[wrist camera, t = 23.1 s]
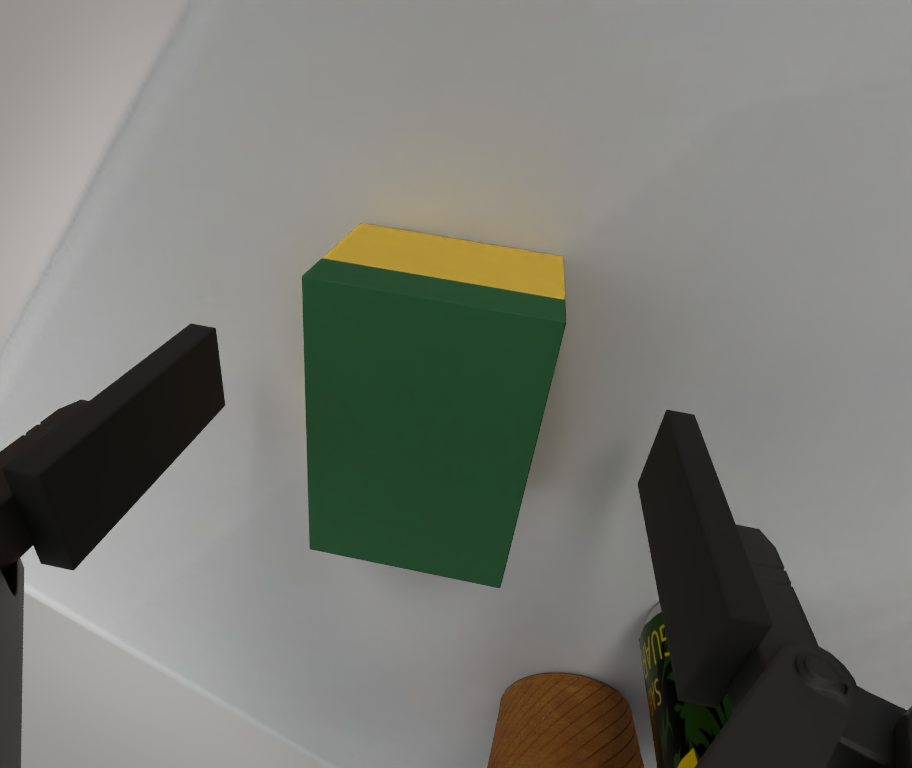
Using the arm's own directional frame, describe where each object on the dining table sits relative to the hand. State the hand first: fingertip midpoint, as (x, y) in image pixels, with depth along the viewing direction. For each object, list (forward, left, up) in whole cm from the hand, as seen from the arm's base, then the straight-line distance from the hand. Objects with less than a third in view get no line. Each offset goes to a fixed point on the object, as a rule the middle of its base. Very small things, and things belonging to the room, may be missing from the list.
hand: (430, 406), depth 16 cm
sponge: (0, 0, -2) cm, 2 cm away
